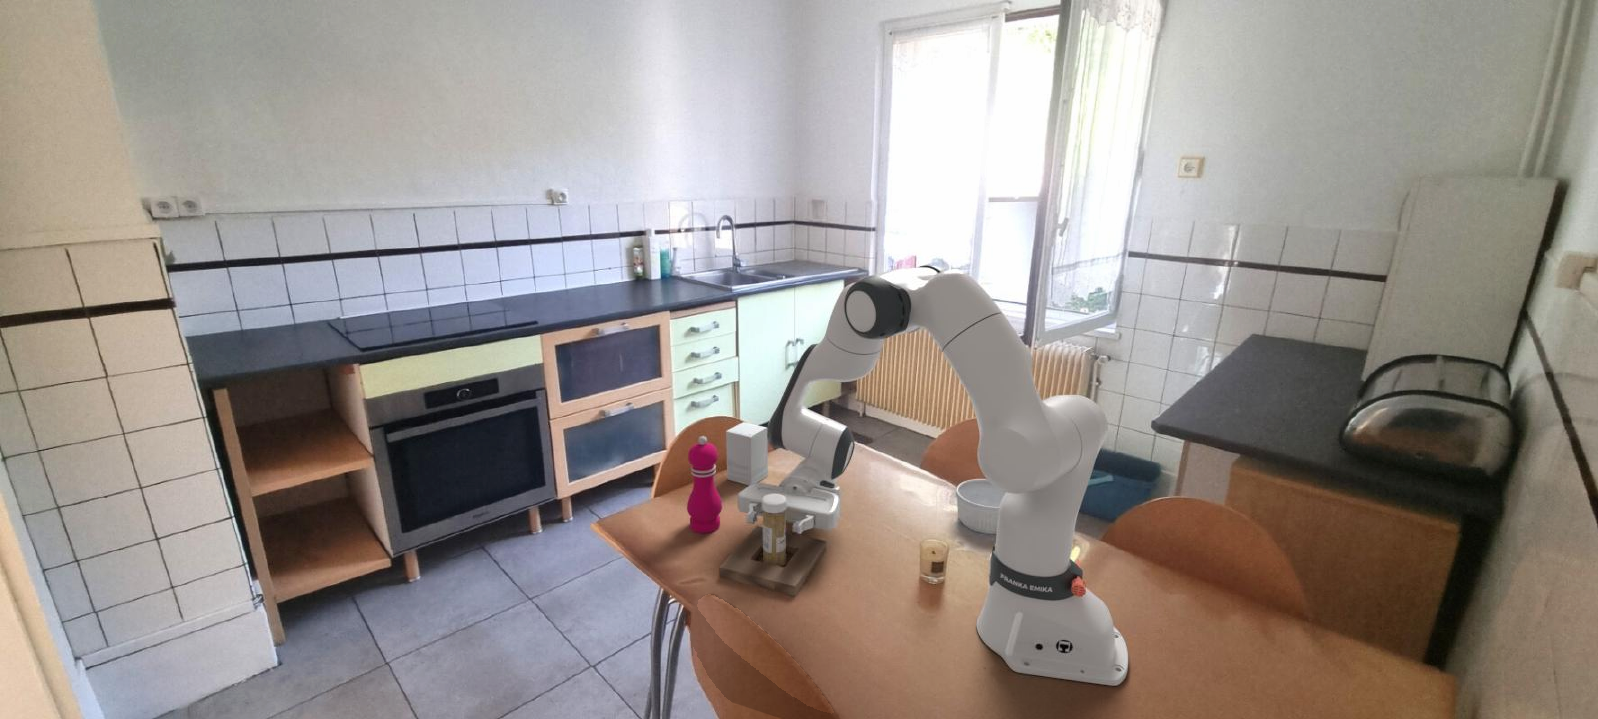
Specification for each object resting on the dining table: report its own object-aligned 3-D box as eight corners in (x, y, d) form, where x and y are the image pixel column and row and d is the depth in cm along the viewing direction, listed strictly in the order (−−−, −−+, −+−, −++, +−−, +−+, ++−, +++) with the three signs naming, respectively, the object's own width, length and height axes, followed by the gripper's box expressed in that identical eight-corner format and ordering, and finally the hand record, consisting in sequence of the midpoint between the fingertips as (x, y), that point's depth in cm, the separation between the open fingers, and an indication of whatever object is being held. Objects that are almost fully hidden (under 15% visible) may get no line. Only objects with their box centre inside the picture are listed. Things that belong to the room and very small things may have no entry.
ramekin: (955, 534, 137) (958, 504, 135) (952, 504, 150) (954, 476, 148) (1022, 540, 135) (1025, 509, 133) (1013, 509, 148) (1016, 481, 146)
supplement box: (768, 475, 163) (768, 427, 159) (750, 487, 157) (750, 437, 153) (744, 468, 166) (743, 421, 163) (725, 479, 160) (724, 430, 157)
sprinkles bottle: (788, 567, 125) (788, 502, 121) (764, 570, 124) (763, 505, 120) (783, 554, 129) (784, 491, 125) (760, 557, 128) (760, 493, 125)
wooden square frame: (826, 550, 131) (826, 541, 130) (795, 596, 116) (795, 586, 116) (757, 534, 136) (757, 525, 136) (719, 576, 122) (719, 567, 121)
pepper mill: (716, 536, 135) (713, 444, 130) (682, 532, 137) (678, 441, 131) (727, 519, 142) (725, 431, 137) (694, 515, 143) (691, 428, 138)
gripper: (754, 470, 138) (722, 498, 126) (848, 487, 131) (824, 520, 119) (754, 497, 140) (723, 528, 128) (847, 516, 133) (823, 551, 120)
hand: (772, 524), depth 123 cm, fingers open, 8 cm apart
